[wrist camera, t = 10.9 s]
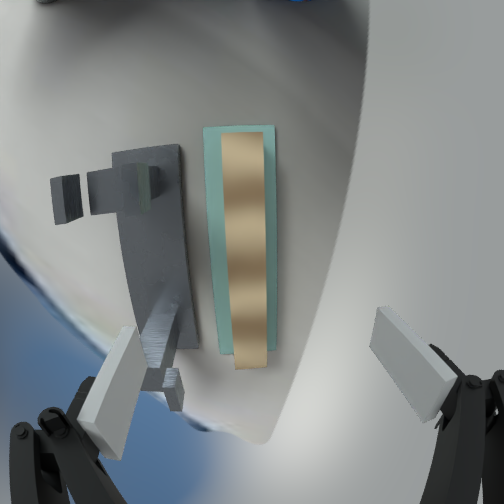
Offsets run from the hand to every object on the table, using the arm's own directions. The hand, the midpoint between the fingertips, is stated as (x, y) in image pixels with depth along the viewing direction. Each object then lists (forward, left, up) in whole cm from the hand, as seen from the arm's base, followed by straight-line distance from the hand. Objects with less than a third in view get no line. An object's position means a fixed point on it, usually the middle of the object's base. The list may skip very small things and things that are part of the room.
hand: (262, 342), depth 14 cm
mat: (0, 0, -16) cm, 16 cm away
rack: (0, -9, -16) cm, 19 cm away
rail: (0, 0, -16) cm, 16 cm away
